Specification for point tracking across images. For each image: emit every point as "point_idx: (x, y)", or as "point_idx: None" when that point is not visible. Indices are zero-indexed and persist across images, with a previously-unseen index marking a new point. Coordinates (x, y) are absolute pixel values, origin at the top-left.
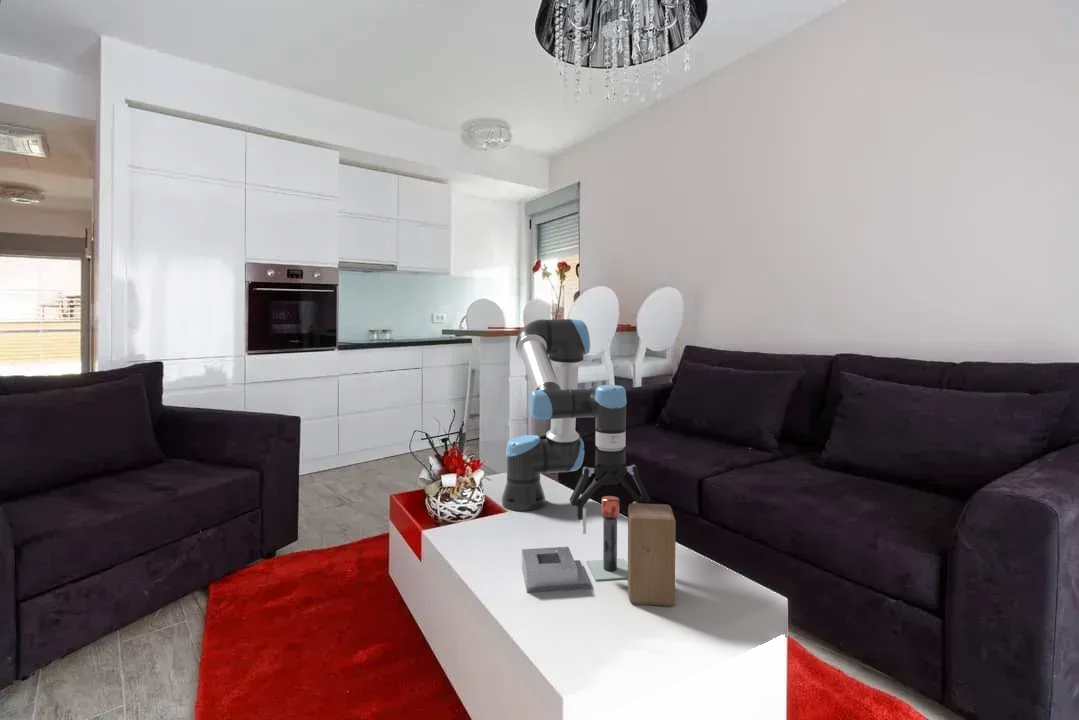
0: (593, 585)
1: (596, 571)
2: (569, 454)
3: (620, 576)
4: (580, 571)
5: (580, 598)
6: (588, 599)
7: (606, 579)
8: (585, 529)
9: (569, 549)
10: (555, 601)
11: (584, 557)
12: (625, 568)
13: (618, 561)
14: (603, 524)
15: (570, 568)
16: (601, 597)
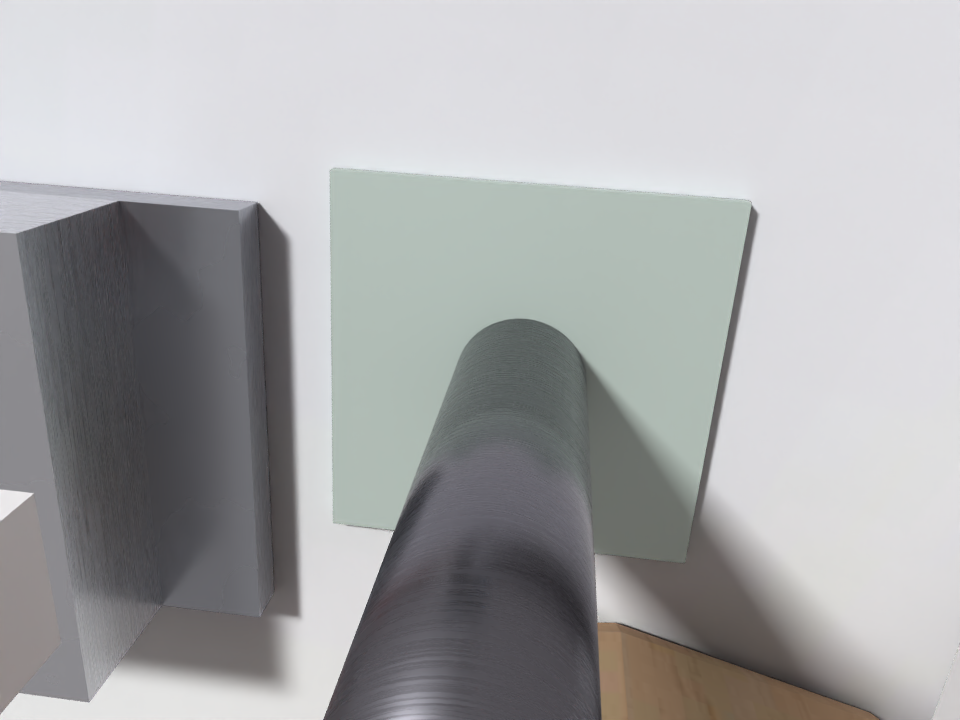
0: (307, 565)
1: (376, 402)
2: None
3: None
4: (212, 433)
5: (185, 684)
6: (236, 706)
7: None
8: (6, 698)
9: (28, 316)
10: None
11: (338, 37)
12: (667, 412)
13: (663, 258)
14: (335, 688)
15: (26, 691)
16: (327, 708)
